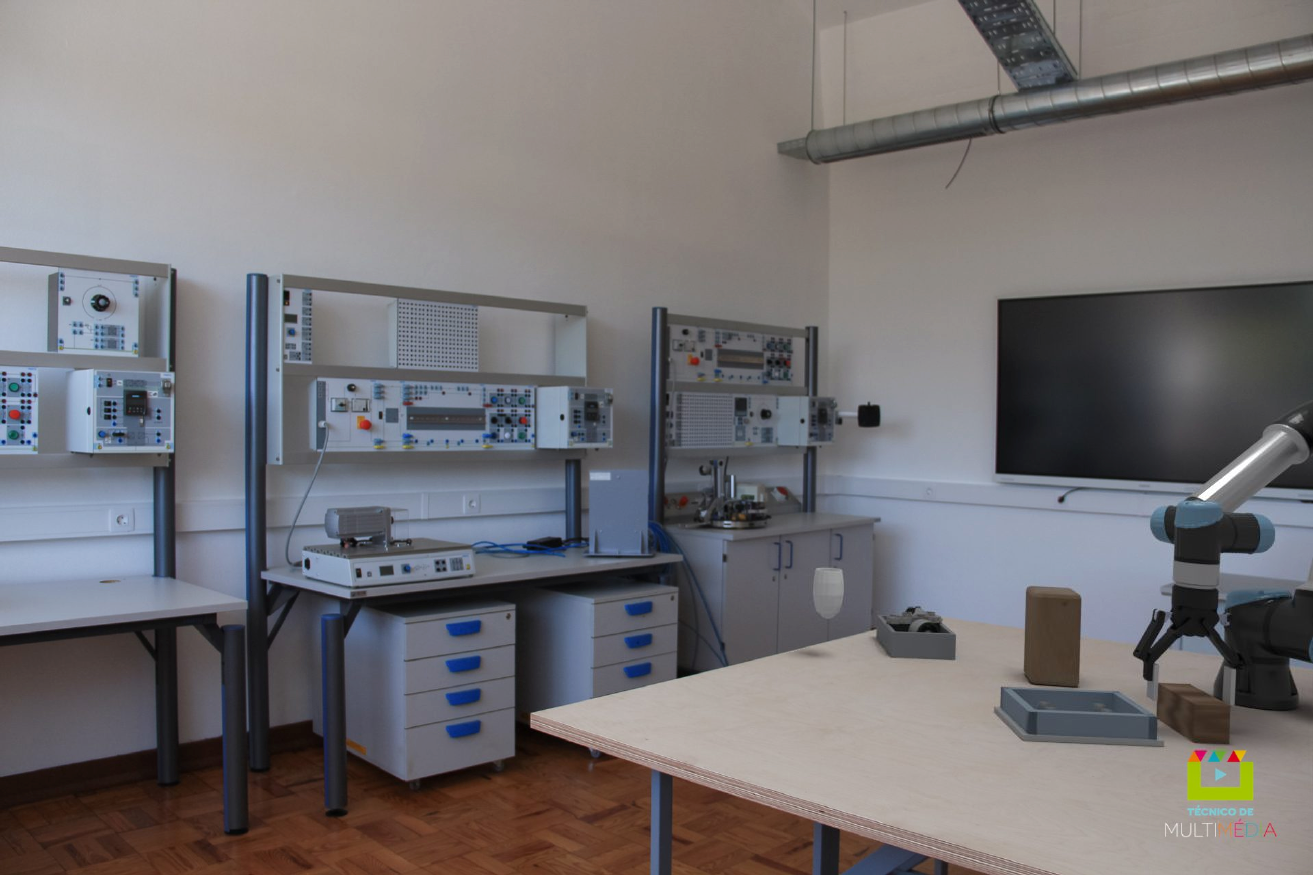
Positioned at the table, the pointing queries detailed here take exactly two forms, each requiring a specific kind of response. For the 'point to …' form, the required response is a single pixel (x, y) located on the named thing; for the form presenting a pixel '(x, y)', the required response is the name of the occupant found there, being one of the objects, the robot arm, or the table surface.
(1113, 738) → the peg frame
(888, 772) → the table surface
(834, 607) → the cup
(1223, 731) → the brown wooden bar
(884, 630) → the camera corral
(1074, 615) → the wooden block
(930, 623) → the camera
